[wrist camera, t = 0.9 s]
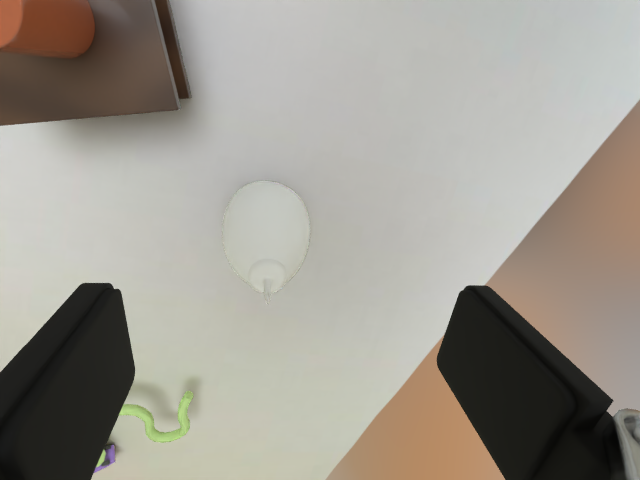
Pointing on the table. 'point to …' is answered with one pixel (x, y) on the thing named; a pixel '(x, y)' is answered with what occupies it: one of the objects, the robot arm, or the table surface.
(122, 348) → the robot arm
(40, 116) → the stand
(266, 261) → the sauce bottle
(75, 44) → the canister
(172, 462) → the table surface
